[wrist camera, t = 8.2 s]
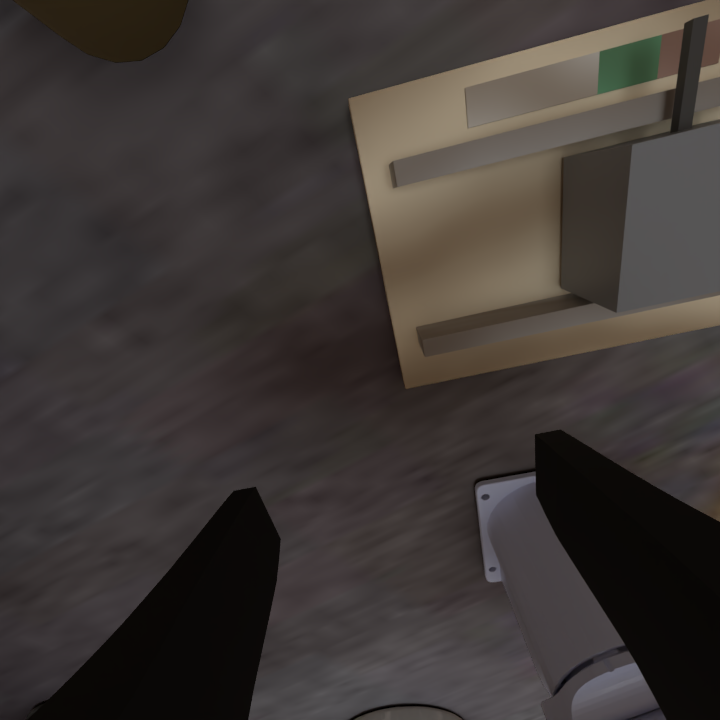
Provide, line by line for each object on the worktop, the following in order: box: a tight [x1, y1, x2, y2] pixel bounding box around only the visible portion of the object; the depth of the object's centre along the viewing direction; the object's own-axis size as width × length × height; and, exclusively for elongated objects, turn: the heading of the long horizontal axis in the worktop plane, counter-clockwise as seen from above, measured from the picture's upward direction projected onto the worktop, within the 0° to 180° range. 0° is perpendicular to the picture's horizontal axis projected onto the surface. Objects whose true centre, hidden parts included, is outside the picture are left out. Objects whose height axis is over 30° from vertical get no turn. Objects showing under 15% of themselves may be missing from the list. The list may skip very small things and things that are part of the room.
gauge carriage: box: [561, 14, 720, 313], centre depth 12 cm, size 8×5×4 cm, turn 13°
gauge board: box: [348, 0, 720, 389], centre depth 14 cm, size 12×19×3 cm, turn 103°
